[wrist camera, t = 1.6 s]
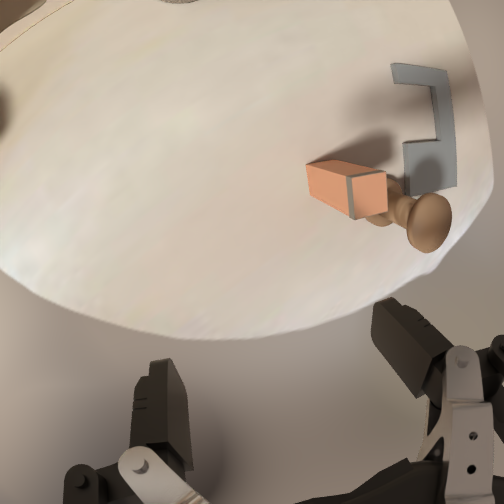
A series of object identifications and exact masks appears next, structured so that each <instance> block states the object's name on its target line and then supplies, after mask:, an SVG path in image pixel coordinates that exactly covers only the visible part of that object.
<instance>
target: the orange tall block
mask: <svg viewBox="0 0 504 504" xmlns="http://www.w3.org/2000/svg"><path fill="white" fill-rule="evenodd" d="M306 170H307V177H308V184H309V191H310V195H311V196H313V197H315V198H316V199H318V200H320V201H322V202H324V203H326V204H328V205H330V206H331V207H333V208H335V209H337V210H339V211H340V212H342V213H344V214H346V215H348V216H349V217H350V218H352V219H353V220H357V219H361V218H365V217H369V216H373V215H376V214H380V213H384V212H388V196H387V177H386V171H383V170H376V169H373V168H369V167H365V166H360V165H356V164H352V163H348V162H343V161H339V160H328V161H322V162H316V163H311V164H306Z"/></svg>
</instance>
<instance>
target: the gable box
mask: <svg viewBox="0 0 504 504" xmlns="http://www.w3.org/2000/svg"><path fill="white" fill-rule="evenodd" d="M72 1H73V0H0V51H1V50H3V49H4V48H5V47H6V46H7V45H9V44H10V43H11V42H12V41H14V40H15V39H16V38H17V37H19V36H20V35H21V34H23V33H24V32H25V31H27V30H28V29H29V28H31V27H32V26H34V25H35V24H36V23H38V22H39V21H41V20H42V19H44V18H45V17H47V16H48V15H50V14H52V13H53V12H55V11H56V10H58V9H60V8H61V7H63V6H65V5H66V4H68V3H70V2H72Z"/></svg>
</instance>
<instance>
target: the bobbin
mask: <svg viewBox="0 0 504 504" xmlns="http://www.w3.org/2000/svg"><path fill="white" fill-rule="evenodd" d="M387 196H388V212H384V213H380V214H376V215H373V216H369V217H365V218H366V219H367V220H368V221H369V222H371V223H373V224H374V225H376V226H381V227H383V226H387V225H389V224H391V223H393V222H394V223H395V224H397V225H399V226H401V227H403V228H405V229H407V237H408V240H409V242H410V244H411V245H412V246H413V247H414V248H416V249H418V250H419V251H421V252H423V253H430V252H433V251H435V250H436V249H438V248H439V247H440V246H441V245H442V244H443V242H444V241H445V239H446V237H447V235H448V233H449V230H450V227H451V222H452V211H451V207H450V204H449V202H448V200H447V199H446V198H445V197H443V196H441V195H438V194H435V193H426V194H424V195H422V196H421V197H420V198H419V199H418V200H416V199H414V198H411V197H408V196H406V195H403V193H402V190H401V187H400V186H399V184H398V183H397V182H396V181H394V180H392V179H389V178H387Z"/></svg>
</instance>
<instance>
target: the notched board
mask: <svg viewBox="0 0 504 504" xmlns="http://www.w3.org/2000/svg"><path fill="white" fill-rule="evenodd" d="M391 69H392V74H393V79H394V84H409V85H421V86H430V89H431V95H432V102H433V110H434V118H435V128H436V139H437V140H436V141H422V142H410V143H402V144H403V156H404V171H405V195H406V196H409V197H413V196H417V195H421V194H425V193H430V192H434V191H438V190H443V189H447V188H451V187H456V186H457V156H456V137H455V125H454V115H453V106H452V99H451V92H450V86H449V80H448V74H447V71H444V70H439V69H433V68H428V67H421V66H414V65H406V64H398V63H395V64H391Z"/></svg>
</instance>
